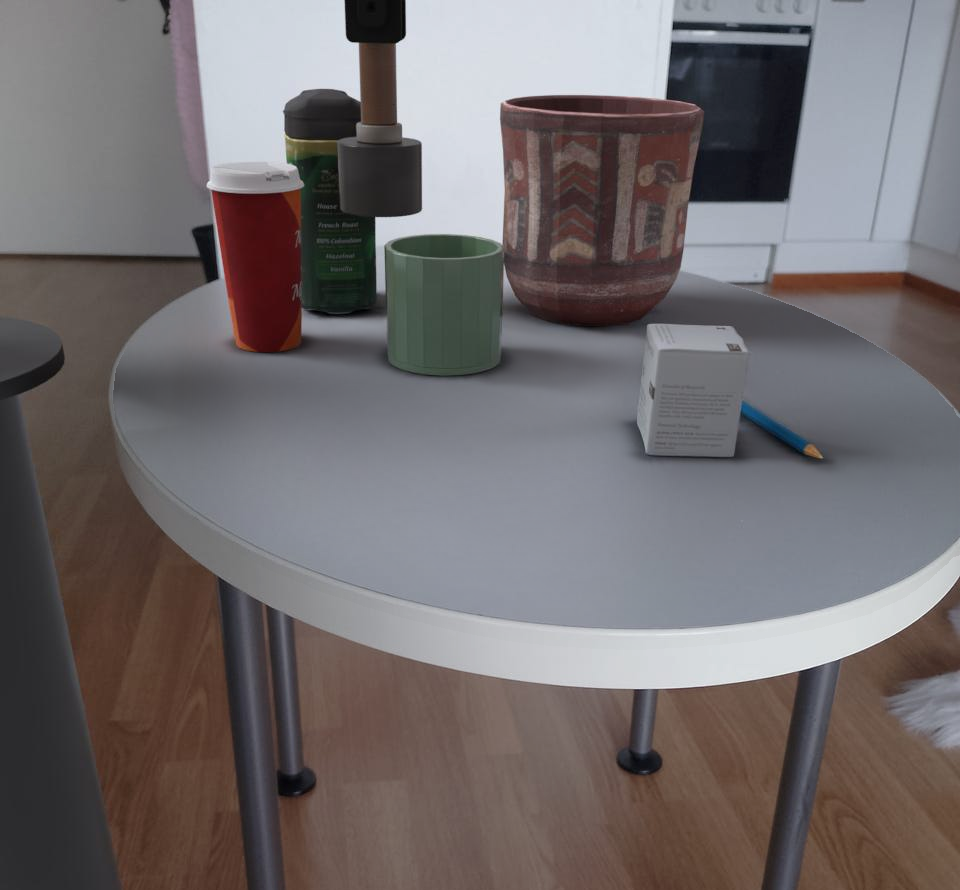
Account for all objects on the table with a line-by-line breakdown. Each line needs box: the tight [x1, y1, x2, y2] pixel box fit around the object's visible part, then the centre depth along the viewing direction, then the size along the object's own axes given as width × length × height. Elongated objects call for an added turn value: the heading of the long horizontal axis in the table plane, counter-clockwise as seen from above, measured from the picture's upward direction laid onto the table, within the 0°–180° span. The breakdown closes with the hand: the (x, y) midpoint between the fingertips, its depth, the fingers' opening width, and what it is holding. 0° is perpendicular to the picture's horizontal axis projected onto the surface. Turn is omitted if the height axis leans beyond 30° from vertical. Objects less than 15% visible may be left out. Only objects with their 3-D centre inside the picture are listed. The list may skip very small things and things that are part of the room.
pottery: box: [499, 94, 705, 327], centre depth 100 cm, size 18×18×18 cm
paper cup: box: [206, 161, 304, 353], centre depth 90 cm, size 8×8×14 cm
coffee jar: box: [282, 88, 377, 315], centre depth 100 cm, size 10×8×19 cm
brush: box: [337, 43, 423, 218], centre depth 65 cm, size 5×5×15 cm
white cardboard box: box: [636, 323, 751, 458], centre depth 73 cm, size 6×6×7 cm
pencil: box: [740, 400, 824, 459], centre depth 79 cm, size 1×17×1 cm, turn 18°
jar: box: [383, 233, 505, 377], centre depth 88 cm, size 9×9×9 cm
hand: (376, 38), depth 64 cm, fingers closed on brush
